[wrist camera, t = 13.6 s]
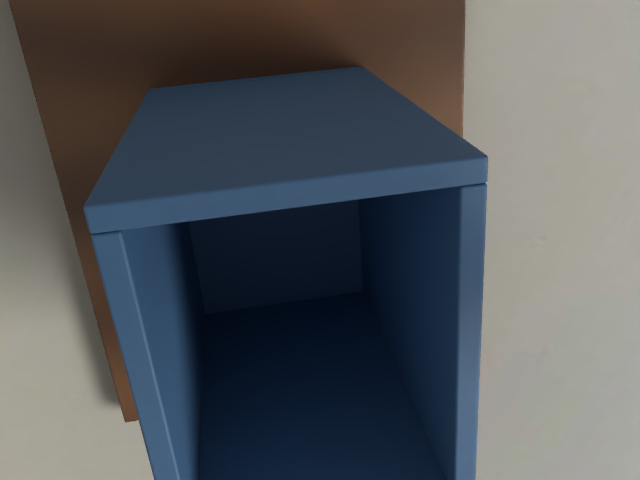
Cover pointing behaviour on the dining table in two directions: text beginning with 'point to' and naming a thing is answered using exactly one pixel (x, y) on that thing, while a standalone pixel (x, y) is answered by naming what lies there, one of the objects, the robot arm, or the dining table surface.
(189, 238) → the blue bin
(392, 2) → the brown wooden flat board
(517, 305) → the dining table surface
